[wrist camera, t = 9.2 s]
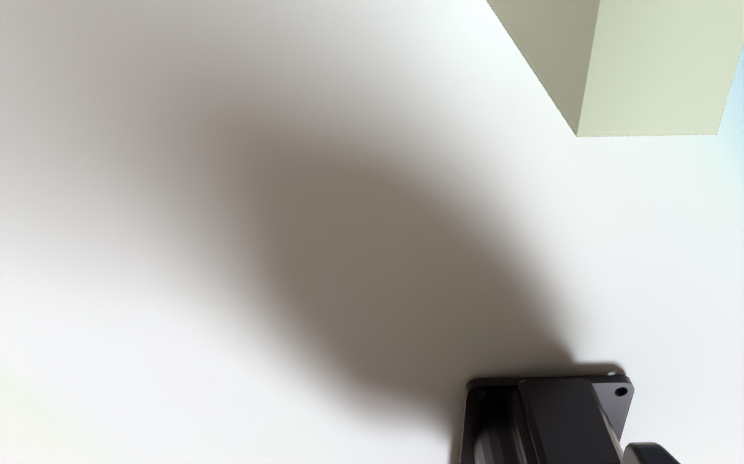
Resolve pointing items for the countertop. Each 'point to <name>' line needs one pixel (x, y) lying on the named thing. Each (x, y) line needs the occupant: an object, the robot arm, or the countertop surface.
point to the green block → (631, 61)
